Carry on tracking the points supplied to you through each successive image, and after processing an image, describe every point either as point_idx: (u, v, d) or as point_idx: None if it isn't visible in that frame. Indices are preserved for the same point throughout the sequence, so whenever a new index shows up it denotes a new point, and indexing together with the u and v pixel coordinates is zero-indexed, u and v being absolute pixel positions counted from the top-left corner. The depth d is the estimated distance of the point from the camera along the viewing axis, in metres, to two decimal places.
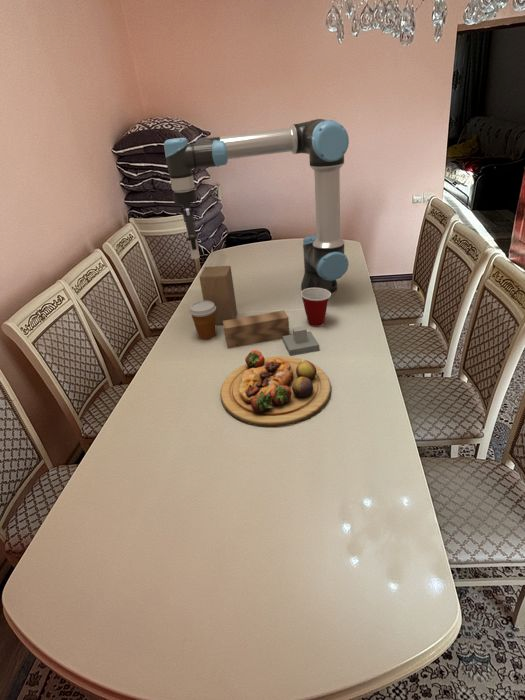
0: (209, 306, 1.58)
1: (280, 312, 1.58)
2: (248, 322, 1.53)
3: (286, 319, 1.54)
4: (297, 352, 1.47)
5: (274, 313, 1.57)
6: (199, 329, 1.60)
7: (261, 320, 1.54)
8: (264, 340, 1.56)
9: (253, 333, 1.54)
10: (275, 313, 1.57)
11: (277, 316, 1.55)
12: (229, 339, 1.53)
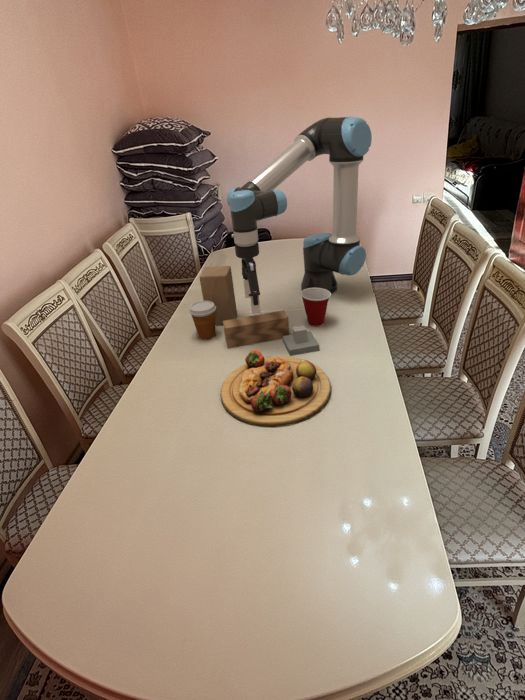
0: (209, 306, 1.58)
1: (280, 312, 1.58)
2: (248, 322, 1.53)
3: (286, 319, 1.54)
4: (297, 352, 1.47)
5: (274, 313, 1.57)
6: (199, 329, 1.60)
7: (261, 320, 1.54)
8: (264, 340, 1.56)
9: (253, 333, 1.54)
10: (275, 313, 1.57)
11: (277, 316, 1.55)
12: (229, 339, 1.53)
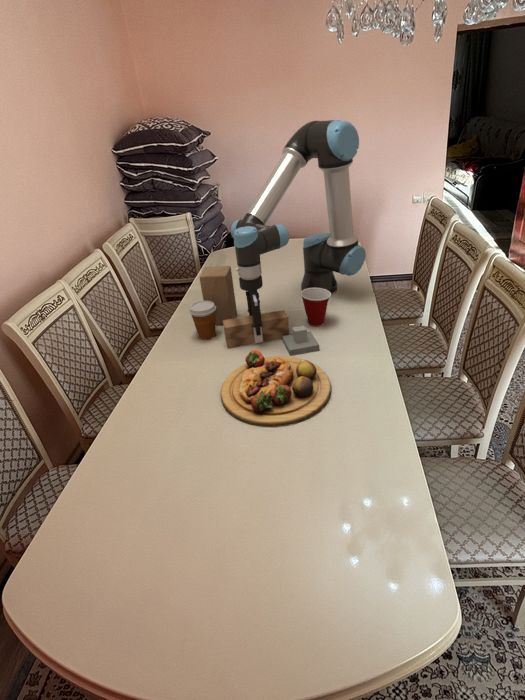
0: (209, 306, 1.58)
1: (280, 311, 1.57)
2: (248, 321, 1.53)
3: (286, 319, 1.54)
4: (297, 352, 1.47)
5: (274, 313, 1.57)
6: (199, 329, 1.60)
7: (261, 319, 1.54)
8: (264, 340, 1.56)
9: (253, 332, 1.54)
10: (275, 313, 1.57)
11: (277, 316, 1.55)
12: (229, 339, 1.53)
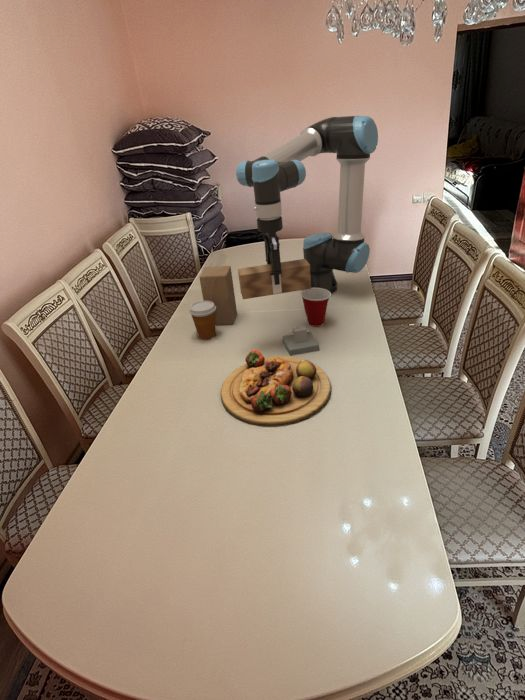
0: (209, 306, 1.58)
1: (301, 260, 1.44)
2: (266, 269, 1.40)
3: (307, 267, 1.40)
4: (297, 352, 1.47)
5: (294, 261, 1.43)
6: (199, 329, 1.60)
7: None
8: (283, 290, 1.43)
9: (271, 282, 1.40)
10: (295, 261, 1.43)
11: (298, 264, 1.41)
12: (244, 288, 1.40)
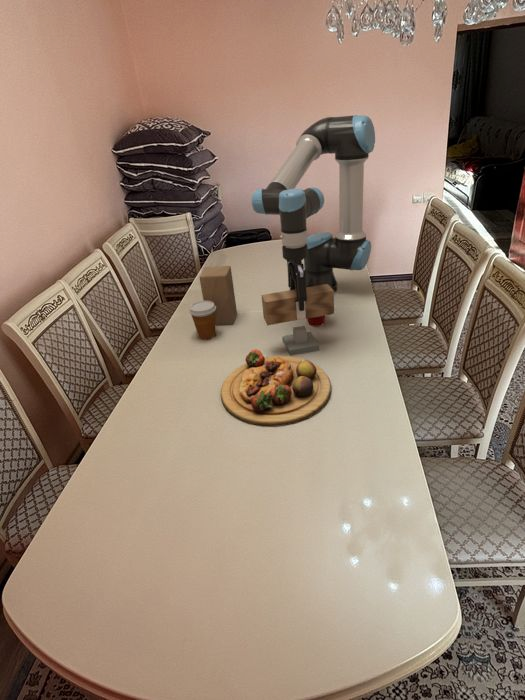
0: (209, 306, 1.58)
1: (324, 286, 1.45)
2: (290, 295, 1.41)
3: (331, 293, 1.41)
4: (297, 352, 1.47)
5: (317, 287, 1.44)
6: (199, 329, 1.60)
7: None
8: (307, 316, 1.43)
9: (295, 308, 1.41)
10: (318, 287, 1.44)
11: (321, 290, 1.42)
12: (269, 314, 1.41)
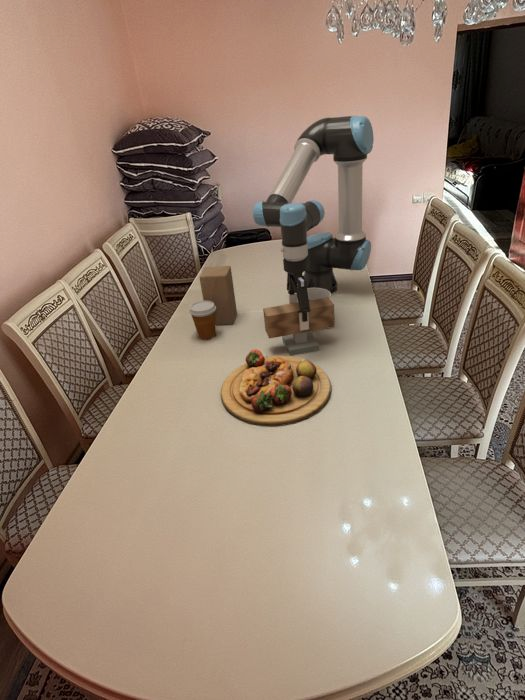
0: (209, 306, 1.58)
1: (324, 299, 1.47)
2: (291, 309, 1.43)
3: (332, 306, 1.44)
4: (297, 352, 1.47)
5: (318, 300, 1.47)
6: (199, 329, 1.60)
7: None
8: (307, 329, 1.46)
9: (296, 321, 1.44)
10: (319, 300, 1.47)
11: (322, 303, 1.45)
12: (270, 328, 1.43)
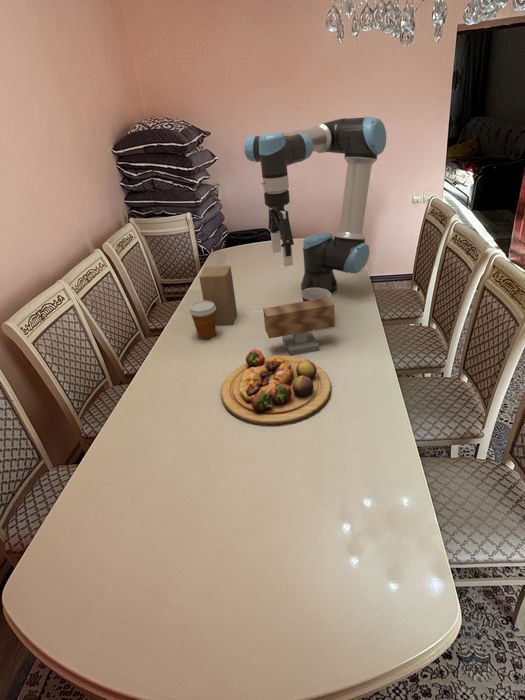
0: (209, 306, 1.58)
1: (324, 299, 1.47)
2: (291, 309, 1.43)
3: (332, 306, 1.44)
4: (297, 352, 1.47)
5: (318, 300, 1.47)
6: (199, 329, 1.60)
7: (305, 307, 1.44)
8: (307, 329, 1.46)
9: (296, 321, 1.44)
10: (319, 300, 1.47)
11: (322, 303, 1.45)
12: (270, 328, 1.43)
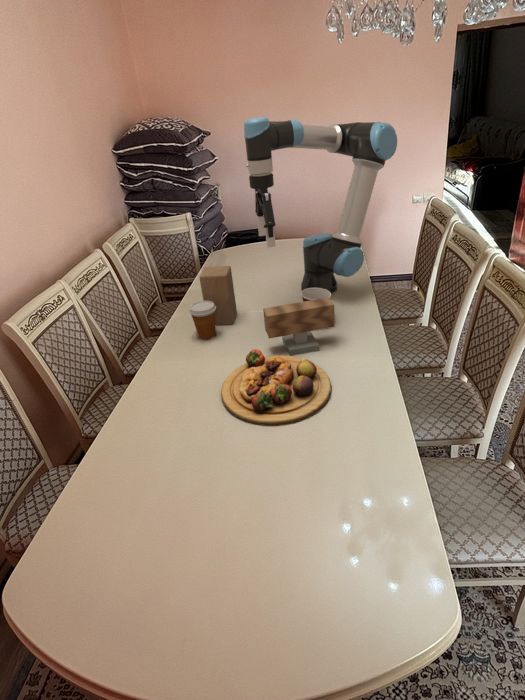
0: (209, 306, 1.58)
1: (324, 299, 1.47)
2: (291, 309, 1.43)
3: (332, 306, 1.44)
4: (297, 352, 1.47)
5: (318, 300, 1.47)
6: (199, 329, 1.60)
7: (305, 307, 1.44)
8: (307, 329, 1.46)
9: (296, 321, 1.44)
10: (319, 300, 1.47)
11: (322, 303, 1.45)
12: (270, 328, 1.43)
